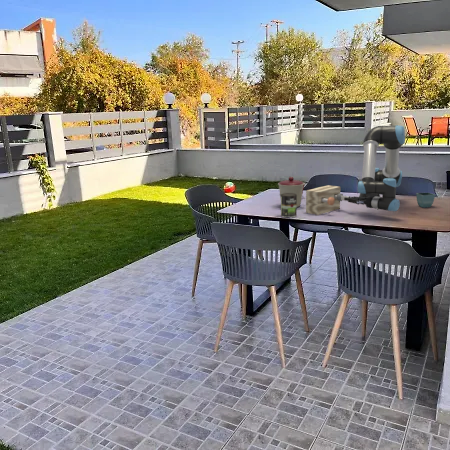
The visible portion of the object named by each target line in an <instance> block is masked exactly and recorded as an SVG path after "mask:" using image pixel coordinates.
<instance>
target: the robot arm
mask: <svg viewBox="0 0 450 450" xmlns="http://www.w3.org/2000/svg"><path fill="white" fill-rule="evenodd" d="M405 143H406V132H405V127H404V126H403V125H398V124H396V125H377V126H374V127H372V128H371V129H370V130H369V131H368V132H367V133H366V135H365V136H364V138H363V141H362V146H363V148H364V149H363V160H362V161H363V162H362V170H361V173H362V174H361V180H360V181H358V183H357V193H358V194H359V195H358V196H349V195H347V196H346V195H343V196H341V200H342V201H345V202H348V203H351V204H356V205H358V206H359V205H363V206H365V207H366V208H368V209H376V210H378V211H379V210H383V211H387V212H397V211H398V210H399V208H400V205H401V204H400V200H399V199H397V197H396V194H397V187H400V186H401V183H402V180H403V179H402V178H403V170H401V169H400V167H399V161H400V160H399V159H400V148H401V147H402V146H403V145H404V144H405ZM380 145H383V147H384V148H385V155H384V156H385V157H384V159H385V160H384V167H383V169H380V168H379V167H376V165H377V150H378V148H379V146H380ZM381 195H382V196H381Z"/></svg>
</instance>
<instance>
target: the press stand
mask: <svg viewBox="0 0 450 450" xmlns="http://www.w3.org/2000/svg"><path fill="white" fill-rule="evenodd" d="M341 189H342V188H341V186H337V185H329V184H328V185H324V186H319V187H315V188H312V189H307V190H306V191H305V213H306V214H309V215H310V214H311V215H315V216H320V215H323V214H327V213H330V212H333V211H337V210H339V209H341V201H337V199H335V198H334V195H338V194H339V193H340V194H341ZM329 197H333V198H334V199H335V202H334V204H333V205H328V203H327V202H321V198H325V199H328V198H329Z"/></svg>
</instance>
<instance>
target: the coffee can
mask: <svg viewBox="0 0 450 450" xmlns="http://www.w3.org/2000/svg"><path fill="white" fill-rule="evenodd" d="M297 208H298V207H297V194H294V193H284V194H281V199H280V217H281V216H282V218H285V217H292V218H296V217H297V216H298V215H297Z"/></svg>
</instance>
